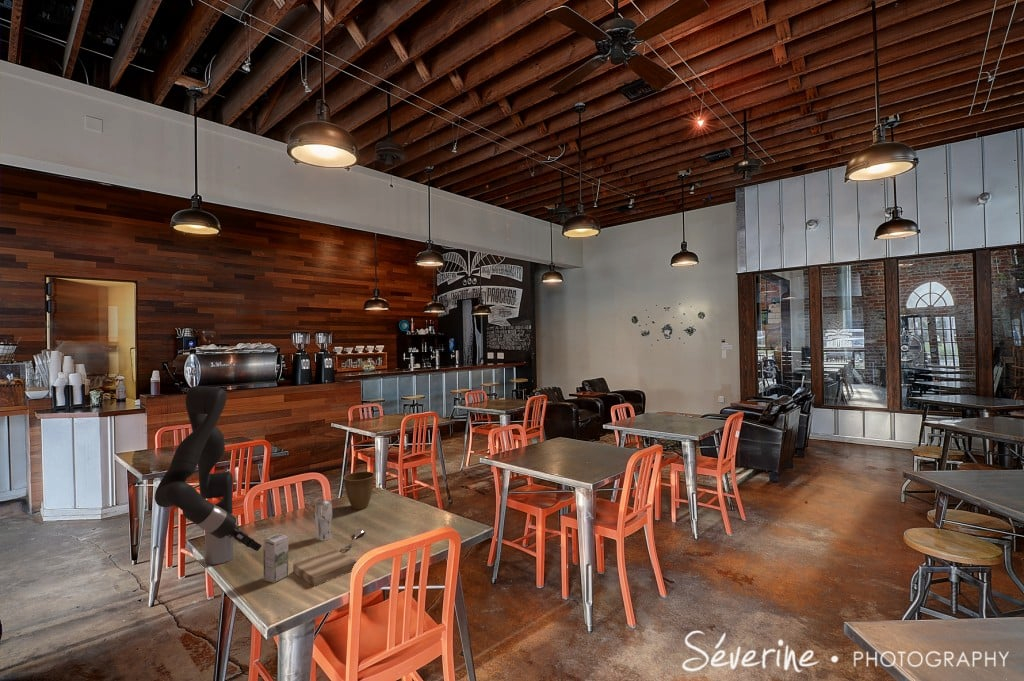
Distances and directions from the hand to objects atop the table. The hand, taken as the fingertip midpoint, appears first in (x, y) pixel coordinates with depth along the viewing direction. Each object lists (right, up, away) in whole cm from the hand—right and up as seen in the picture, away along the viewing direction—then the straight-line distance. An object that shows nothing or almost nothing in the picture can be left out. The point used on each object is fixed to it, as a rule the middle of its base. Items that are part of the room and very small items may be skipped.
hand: (254, 544), depth 165 cm
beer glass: (+8, -14, +40) cm, 43 cm away
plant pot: (+12, -14, +77) cm, 79 cm away
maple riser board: (+20, -14, +11) cm, 27 cm away
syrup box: (+5, -14, +5) cm, 16 cm away
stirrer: (+22, -14, +35) cm, 44 cm away
